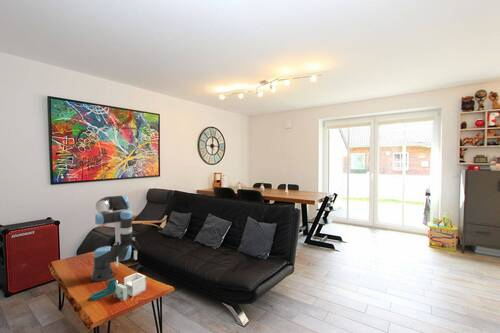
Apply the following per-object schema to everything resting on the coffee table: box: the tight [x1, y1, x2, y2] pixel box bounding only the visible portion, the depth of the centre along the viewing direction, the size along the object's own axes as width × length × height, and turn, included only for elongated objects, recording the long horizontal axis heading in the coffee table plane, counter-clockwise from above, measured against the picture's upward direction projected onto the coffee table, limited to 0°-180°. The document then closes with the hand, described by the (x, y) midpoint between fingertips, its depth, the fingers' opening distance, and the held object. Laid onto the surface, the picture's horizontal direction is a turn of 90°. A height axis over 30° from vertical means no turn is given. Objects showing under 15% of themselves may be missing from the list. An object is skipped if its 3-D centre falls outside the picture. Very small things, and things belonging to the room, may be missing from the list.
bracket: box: [90, 277, 122, 301], centre depth 170 cm, size 18×7×8 cm, turn 142°
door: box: [116, 283, 128, 302], centre depth 165 cm, size 9×4×8 cm, turn 58°
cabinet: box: [123, 272, 147, 297], centre depth 174 cm, size 11×10×10 cm
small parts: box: [113, 279, 130, 302], centre depth 166 cm, size 11×5×10 cm, turn 57°
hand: (126, 262), depth 173 cm, fingers open, 13 cm apart
